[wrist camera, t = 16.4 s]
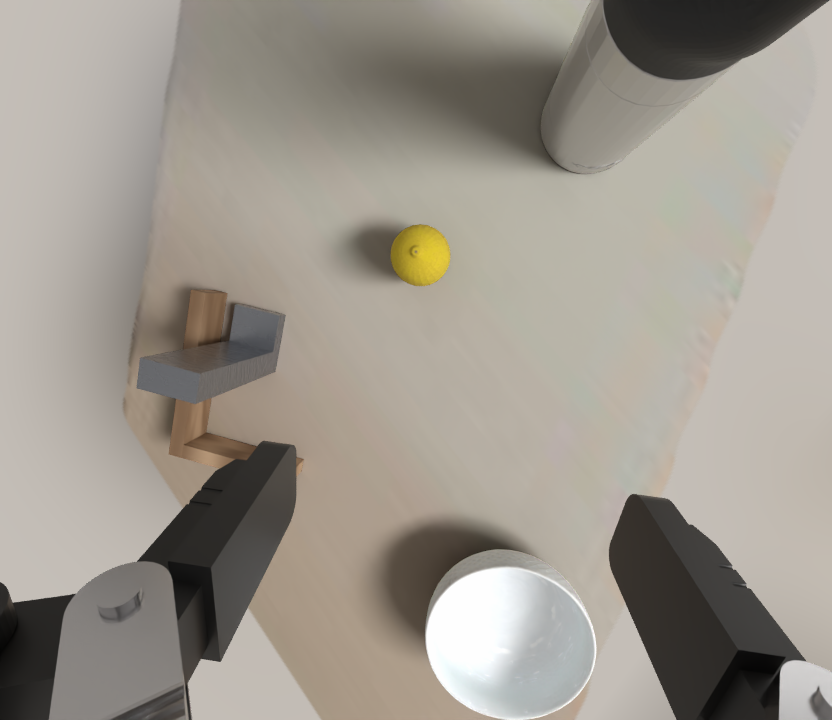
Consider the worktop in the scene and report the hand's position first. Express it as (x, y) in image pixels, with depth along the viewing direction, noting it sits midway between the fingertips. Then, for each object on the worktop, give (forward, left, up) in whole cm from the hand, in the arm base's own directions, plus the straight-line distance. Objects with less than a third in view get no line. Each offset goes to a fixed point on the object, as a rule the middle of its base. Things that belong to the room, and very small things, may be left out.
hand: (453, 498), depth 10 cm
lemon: (-9, -3, -34) cm, 35 cm away
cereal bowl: (+29, +5, -34) cm, 45 cm away
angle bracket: (-1, -22, -34) cm, 40 cm away
